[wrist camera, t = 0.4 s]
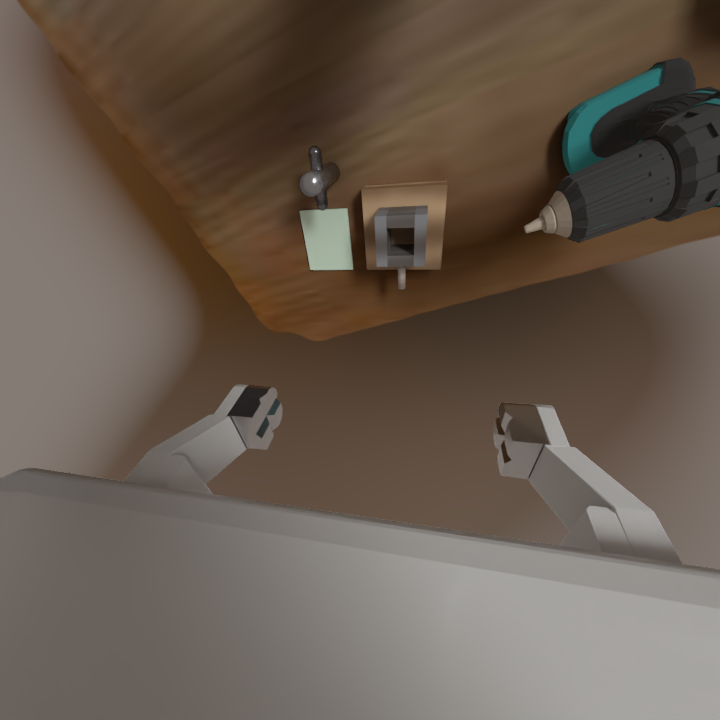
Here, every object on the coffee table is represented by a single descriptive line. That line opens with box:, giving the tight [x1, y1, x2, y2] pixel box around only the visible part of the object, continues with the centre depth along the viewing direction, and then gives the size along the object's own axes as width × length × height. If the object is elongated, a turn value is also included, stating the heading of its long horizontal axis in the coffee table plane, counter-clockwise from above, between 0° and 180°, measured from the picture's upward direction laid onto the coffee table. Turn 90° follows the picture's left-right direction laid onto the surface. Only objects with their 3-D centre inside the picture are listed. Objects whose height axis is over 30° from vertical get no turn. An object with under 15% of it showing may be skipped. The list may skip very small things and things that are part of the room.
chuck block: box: [361, 181, 448, 289], centre depth 47 cm, size 14×12×8 cm
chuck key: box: [300, 146, 340, 211], centre depth 42 cm, size 8×3×10 cm, turn 5°
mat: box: [299, 208, 353, 270], centre depth 53 cm, size 10×8×1 cm
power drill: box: [524, 58, 720, 243], centre depth 29 cm, size 26×9×25 cm, turn 116°
